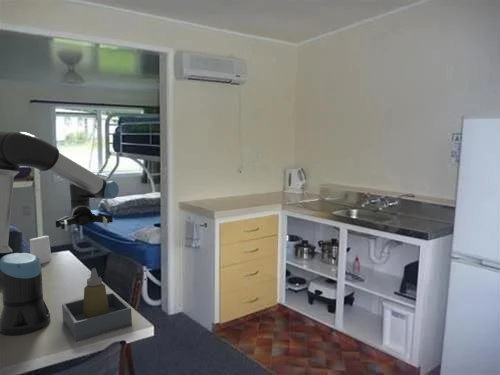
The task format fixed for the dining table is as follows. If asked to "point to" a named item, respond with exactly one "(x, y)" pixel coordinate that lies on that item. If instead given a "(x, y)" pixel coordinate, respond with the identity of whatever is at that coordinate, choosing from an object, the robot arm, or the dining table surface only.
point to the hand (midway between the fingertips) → (86, 225)
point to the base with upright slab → (41, 248)
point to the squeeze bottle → (95, 296)
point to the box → (96, 318)
